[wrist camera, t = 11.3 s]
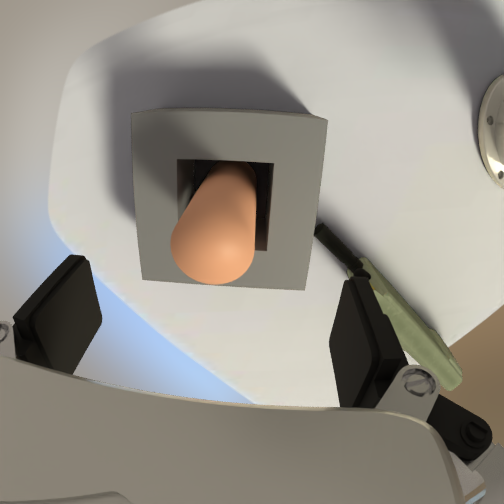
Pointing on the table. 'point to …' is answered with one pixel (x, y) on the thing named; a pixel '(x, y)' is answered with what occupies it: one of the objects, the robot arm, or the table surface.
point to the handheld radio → (399, 314)
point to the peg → (218, 225)
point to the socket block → (233, 149)
